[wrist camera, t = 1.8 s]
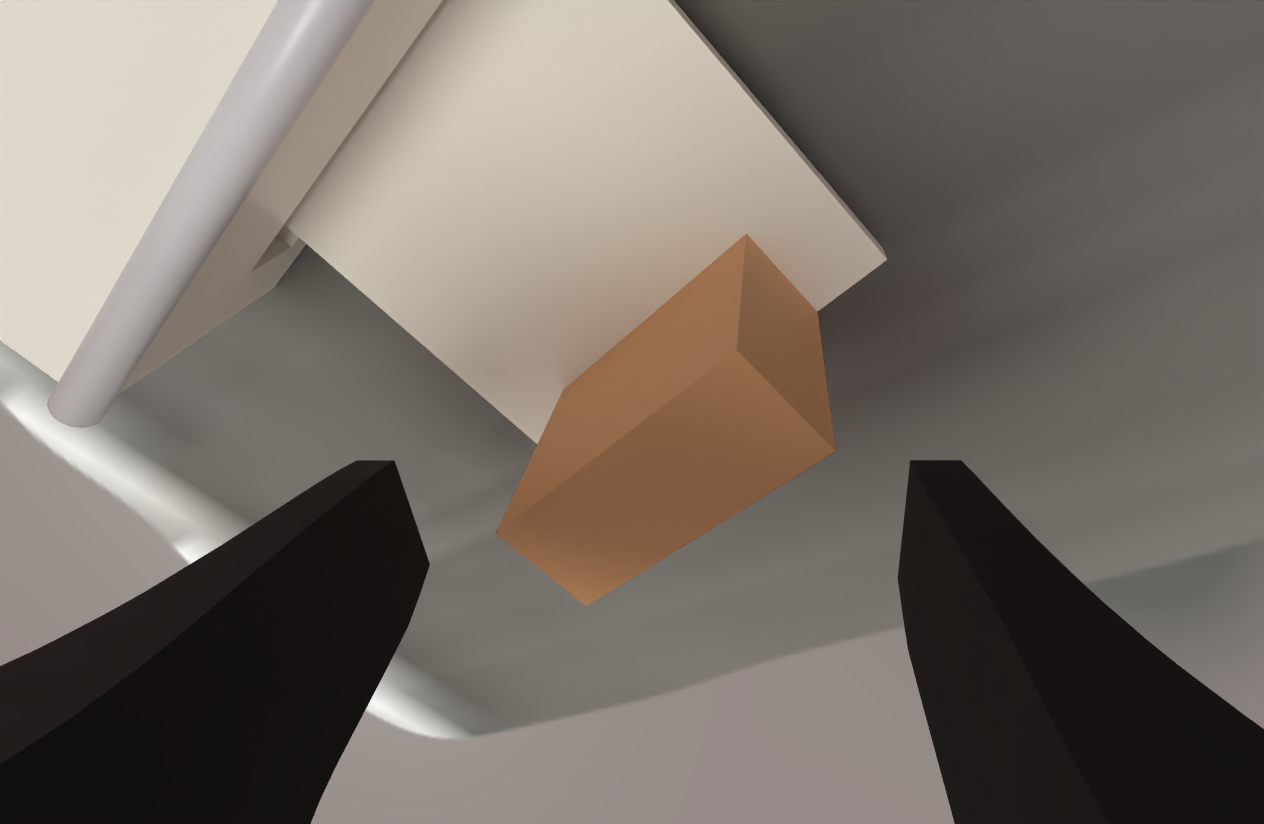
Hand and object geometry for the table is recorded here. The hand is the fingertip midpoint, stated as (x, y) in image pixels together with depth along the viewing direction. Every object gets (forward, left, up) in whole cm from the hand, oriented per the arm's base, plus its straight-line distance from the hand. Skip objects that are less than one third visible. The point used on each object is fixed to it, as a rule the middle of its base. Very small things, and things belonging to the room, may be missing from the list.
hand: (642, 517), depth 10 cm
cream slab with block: (+6, 0, -5) cm, 8 cm away
